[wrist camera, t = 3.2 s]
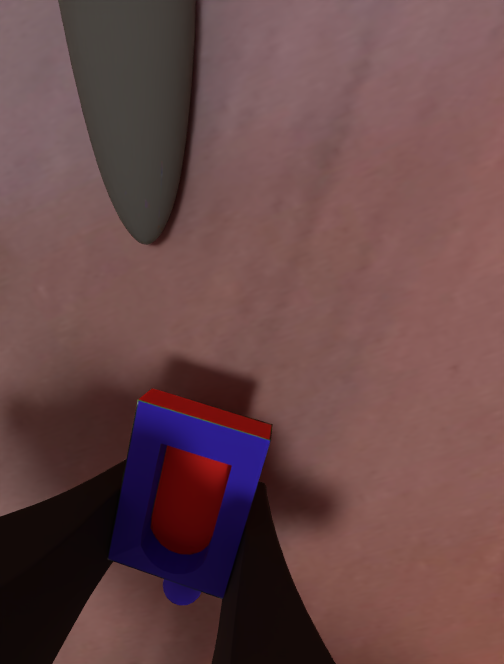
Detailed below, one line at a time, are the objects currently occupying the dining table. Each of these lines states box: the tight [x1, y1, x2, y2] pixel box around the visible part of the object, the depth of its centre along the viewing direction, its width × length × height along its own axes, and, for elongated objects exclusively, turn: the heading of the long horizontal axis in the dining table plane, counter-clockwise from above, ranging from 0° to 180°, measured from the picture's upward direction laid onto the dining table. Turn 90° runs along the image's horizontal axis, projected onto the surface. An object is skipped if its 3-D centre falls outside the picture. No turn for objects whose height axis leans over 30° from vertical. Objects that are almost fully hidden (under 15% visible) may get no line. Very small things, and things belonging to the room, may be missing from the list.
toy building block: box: [107, 388, 273, 605], centre depth 11 cm, size 4×4×8 cm
